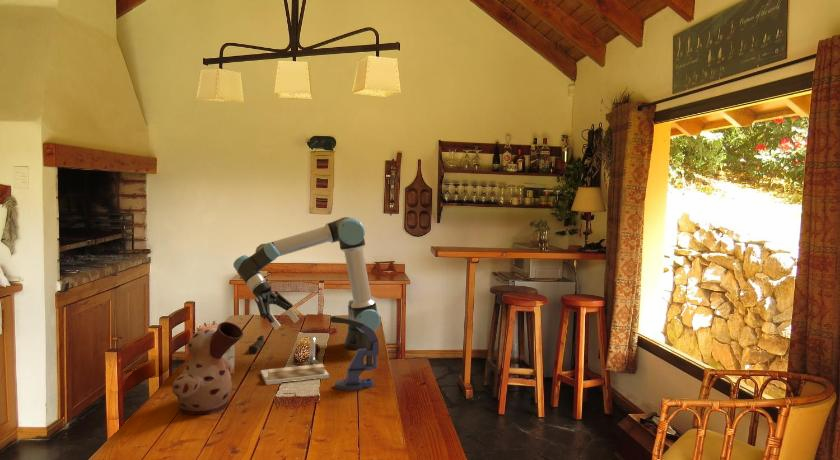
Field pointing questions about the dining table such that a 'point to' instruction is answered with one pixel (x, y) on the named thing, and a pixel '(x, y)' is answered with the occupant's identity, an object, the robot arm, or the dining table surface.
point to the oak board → (296, 371)
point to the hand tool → (256, 345)
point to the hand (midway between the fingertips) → (288, 324)
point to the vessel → (207, 371)
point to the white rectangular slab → (278, 381)
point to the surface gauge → (311, 353)
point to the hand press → (359, 359)
